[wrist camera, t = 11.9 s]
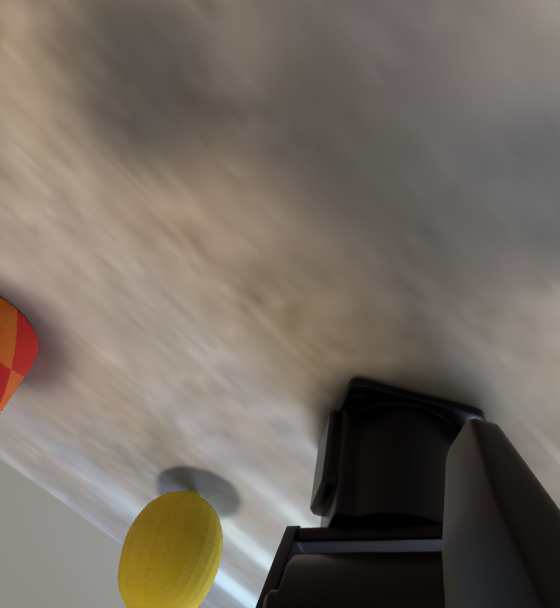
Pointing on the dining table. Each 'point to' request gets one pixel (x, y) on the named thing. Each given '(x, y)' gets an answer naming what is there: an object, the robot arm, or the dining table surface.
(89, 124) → the dining table surface
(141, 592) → the lemon
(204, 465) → the dining table surface
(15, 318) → the paper cup
